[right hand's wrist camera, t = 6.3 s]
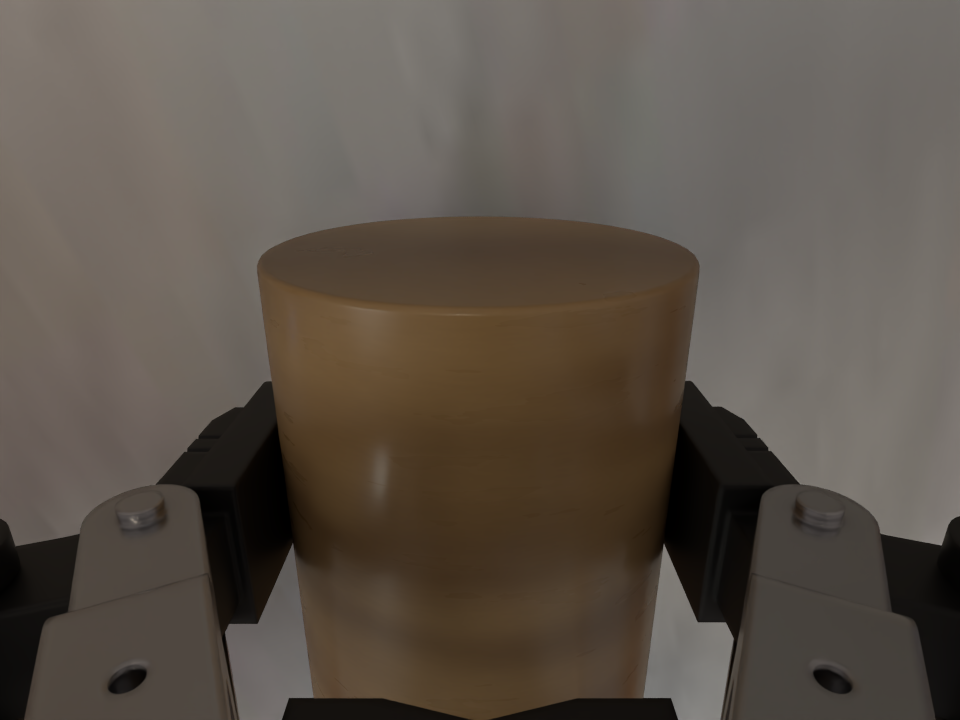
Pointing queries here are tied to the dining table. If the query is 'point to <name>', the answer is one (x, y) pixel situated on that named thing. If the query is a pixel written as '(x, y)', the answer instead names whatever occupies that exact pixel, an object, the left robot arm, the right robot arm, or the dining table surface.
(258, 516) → the right robot arm
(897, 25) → the dining table surface
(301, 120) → the dining table surface
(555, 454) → the rod
